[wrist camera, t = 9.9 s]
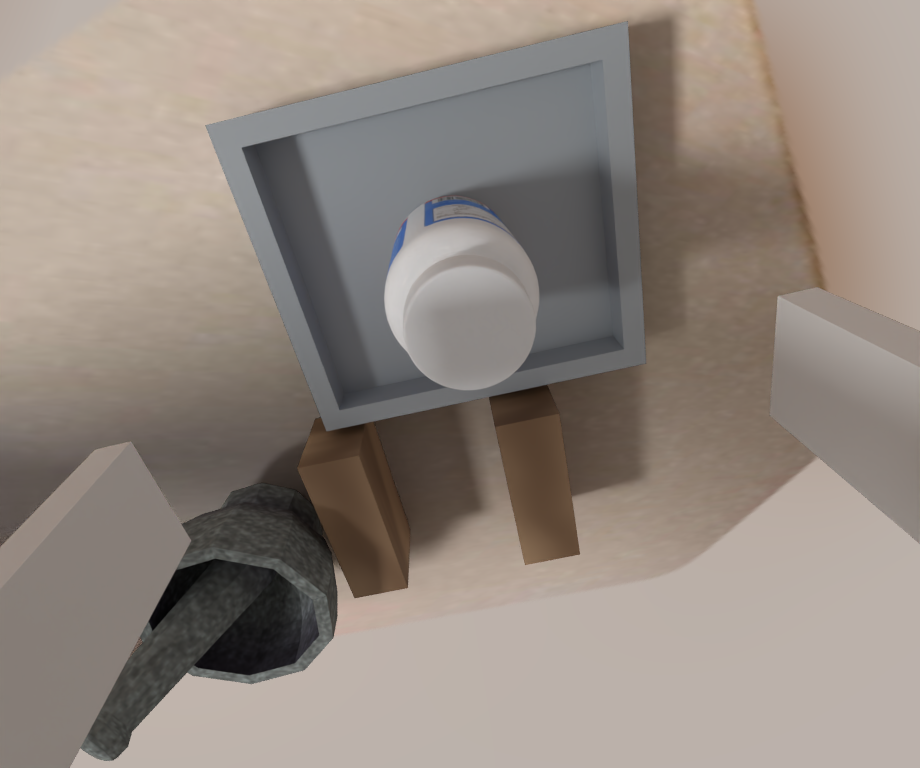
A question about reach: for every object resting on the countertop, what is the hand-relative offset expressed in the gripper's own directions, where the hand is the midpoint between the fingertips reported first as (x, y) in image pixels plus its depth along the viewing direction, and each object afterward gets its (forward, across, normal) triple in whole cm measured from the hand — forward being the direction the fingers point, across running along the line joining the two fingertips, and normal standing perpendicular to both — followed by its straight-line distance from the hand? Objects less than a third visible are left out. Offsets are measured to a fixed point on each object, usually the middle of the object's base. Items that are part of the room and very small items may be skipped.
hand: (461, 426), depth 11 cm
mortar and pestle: (+16, -14, -14) cm, 26 cm away
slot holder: (+16, -2, -12) cm, 20 cm away
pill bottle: (+15, +1, 0) cm, 15 cm away
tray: (+16, +1, 0) cm, 16 cm away
